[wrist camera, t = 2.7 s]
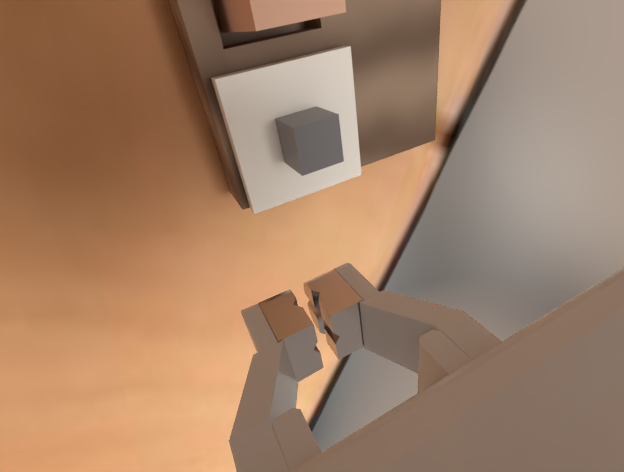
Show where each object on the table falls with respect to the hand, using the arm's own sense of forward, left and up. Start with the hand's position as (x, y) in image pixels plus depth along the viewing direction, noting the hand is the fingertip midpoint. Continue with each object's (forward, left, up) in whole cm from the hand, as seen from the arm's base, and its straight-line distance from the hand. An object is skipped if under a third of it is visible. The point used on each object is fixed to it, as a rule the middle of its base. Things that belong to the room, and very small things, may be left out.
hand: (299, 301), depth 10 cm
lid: (0, +6, -15) cm, 17 cm away
